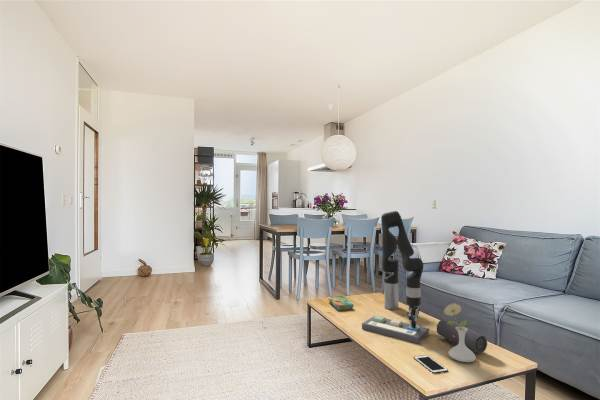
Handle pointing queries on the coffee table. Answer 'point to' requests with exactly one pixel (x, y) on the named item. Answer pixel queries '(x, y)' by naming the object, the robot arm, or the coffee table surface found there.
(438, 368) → the cell phone
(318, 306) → the coffee table surface
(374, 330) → the button board
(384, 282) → the robot arm
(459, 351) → the flower in vase
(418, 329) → the button blue
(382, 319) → the button sage
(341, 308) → the puzzle game
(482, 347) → the bluetooth speaker
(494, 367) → the coffee table surface
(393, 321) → the button sand
